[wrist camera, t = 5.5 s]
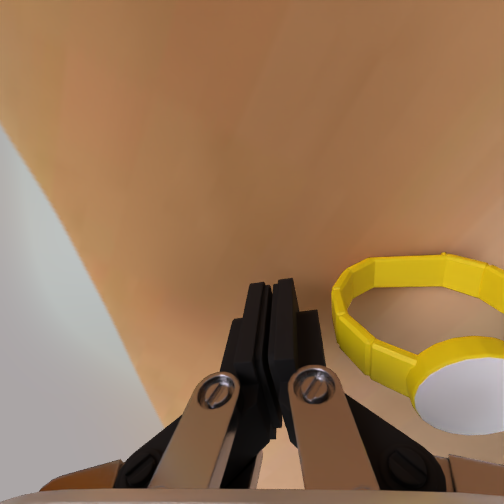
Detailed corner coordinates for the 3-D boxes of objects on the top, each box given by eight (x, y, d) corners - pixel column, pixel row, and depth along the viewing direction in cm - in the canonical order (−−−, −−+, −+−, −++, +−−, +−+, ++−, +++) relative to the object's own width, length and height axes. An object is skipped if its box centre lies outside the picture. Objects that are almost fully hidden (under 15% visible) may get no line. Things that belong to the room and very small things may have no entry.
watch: (489, 230, 11) (675, 353, 6) (475, 291, 12) (617, 439, 7) (323, 244, 12) (351, 361, 7) (326, 300, 13) (351, 435, 8)
